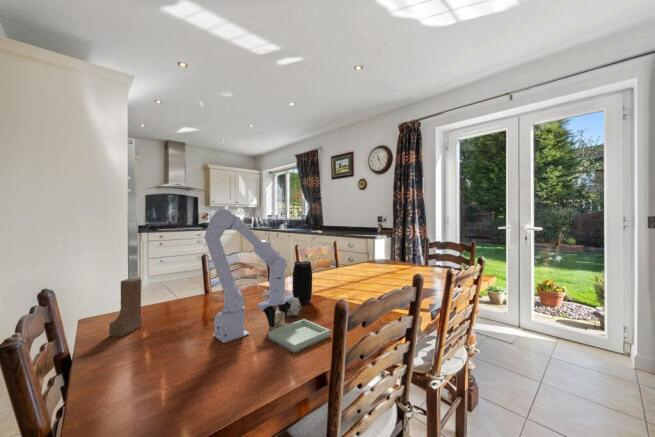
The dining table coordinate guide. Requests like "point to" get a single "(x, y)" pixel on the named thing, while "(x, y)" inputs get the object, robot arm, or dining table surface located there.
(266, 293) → the pipe connector
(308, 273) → the portable speaker
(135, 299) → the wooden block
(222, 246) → the robot arm
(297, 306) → the game die
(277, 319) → the maple block
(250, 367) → the dining table surface
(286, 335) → the sorting tray
